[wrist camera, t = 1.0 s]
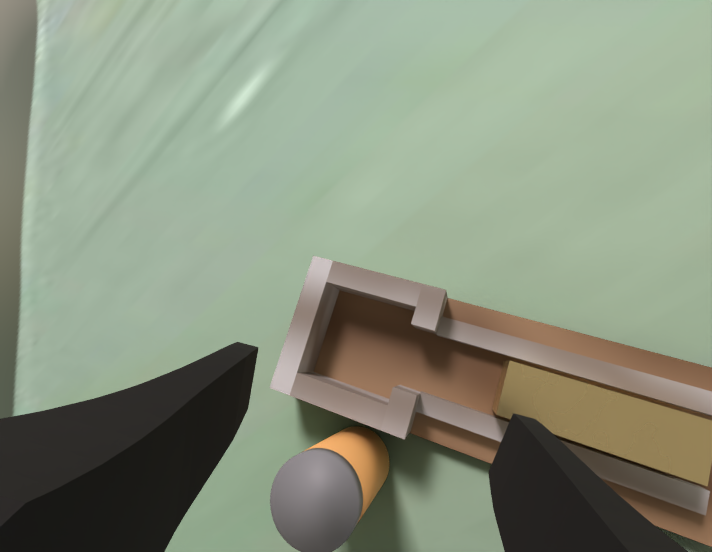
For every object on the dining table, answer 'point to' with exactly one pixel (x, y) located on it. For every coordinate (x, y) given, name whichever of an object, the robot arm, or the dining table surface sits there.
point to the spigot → (328, 489)
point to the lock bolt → (608, 421)
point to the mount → (475, 377)
